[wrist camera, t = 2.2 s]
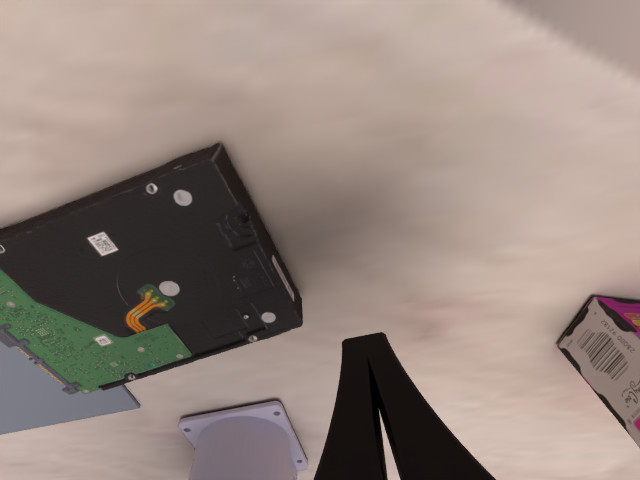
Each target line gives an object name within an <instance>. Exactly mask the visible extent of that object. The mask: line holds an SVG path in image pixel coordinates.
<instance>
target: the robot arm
mask: <svg viewBox="0 0 640 480" xmlns="http://www.w3.org/2000/svg"><path fill="white" fill-rule="evenodd" d="M379 410H380V414H381V417H382V420H383V424H384V427H385V430H386V433H387V437H388V440H389V443H390V446H391V450H392V453H393V456H394V460H395V463H396V466H397V469H398V473H399V476H400V479H401V480H496V479H495V478H494V477H493V476H492V475H491V474H490V473H489V472H488V471H487V470H486V469H485V468H484V467H483V466H482V465H481V464H480V463H479V462H478V461H477V460H476V459H475V458H474V457H473V456H472V455H471V453H470V452H469V451H468V450H467V449H466V448H465V447H464V446H463V445H462V444H461V443H460V441H459V440H458V439H457V438H456V437H455V436H454V435H453V433H452V432H451V431H450V430H449V429H448V428H447V426H446V425H445V424H444V423H443V422H442V420H441V419H440V418H439V417H438V415H437V414H436V413H435V412H434V410H433V409H432V408H431V406H430V405H429V404H428V403H427V401H426V400H425V399H424V397H423V396H422V395H421V393H420V392H419V390H418V389H417V388H416V386H415V385H414V383H413V382H412V380H411V379H410V377H409V376H408V375H407V373H406V371H405V370H404V368H403V367H402V365H401V363H400V362H399V360H398V359H397V357H396V355H395V353H394V351H393V350H392V348H391V346H390V344H389V342H388V339H387V337H386V334H384V333H382V332H380V333H375V334H370V335H364V336H359V337H354V338H349V339H345V340H344V341H343V342H342V363H341V372H340V380H339V385H338V391H337V397H336V402H335V407H334V411H333V415H332V419H331V424H330V428H329V432H328V435H327V439H326V443H325V446H324V449H323V453H322V456H321V459H320V462H319V465H318V468H317V471H316V474H315V477H314V480H388V479H387V471H386V463H385V455H384V447H383V439H382V431H381V423H380V415H379ZM178 427H179V428H180V430H181V431H182V432H183V434H184V435H185V436H186V438H187V439H188V440H189V442H190V443H191V444H192V446H193V447H194V448H195V455H194V459H193V463H192V467H191V471H190V475H189V480H297V471H300V470H305V469H307V468H308V461H307V459H306V457H305V454H304V452H303V450H302V448H301V446H300V443H299V441H298V439H297V437H296V435H295V432H294V430H293V428H292V426H291V424H290V421H289V419H288V417H287V415H286V413H285V410H284V408H283V406H282V404H281V403H280V402H278V401H271V402H266V403H261V404H255V405H250V406H245V407H239V408H234V409H229V410H224V411H218V412H213V413H208V414H202V415H197V416H192V417H186V418H182V419H180V420H179V423H178Z"/></svg>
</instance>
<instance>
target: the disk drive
mask: <svg viewBox="0 0 640 480" xmlns="http://www.w3.org/2000/svg"><path fill="white" fill-rule="evenodd" d="M302 319H303V316H302V298H301V296H300V294H299V293H298V290H297V288H296V287H295V286H294V283H293V282H292V280H291V277H290V275H289V273H288V271H287V269H286V267H285V265H284V263H283V262H282V260H281V258H280V256H279V254H278V251H277V250H276V248H275V246H274V244H273V242H272V239H271V238H270V236H269V234H268V232H267V230H266V229H265V226H264V224H263V223H262V221H261V219H260V217H259V215H258V213H257V211H256V209H255V207H254V205H253V203H252V201H251V199H250V197H249V195H248V193H247V191H246V190H245V188H244V186H243V184H242V182H241V180H240V179H239V177H238V175H237V174H236V172H235V169H234V168H233V166H232V164H231V161H230V159H229V157H228V155H227V153H226V151H225V149H224V147H223V146H222V145H221V144H216V145H214V146H213V147H211V148H207V149H203V150H201V151H198V152H196V153H191V154H189V155H186V156H183V157H181V158H178V159H175V160H173V161H171V162H169V163H167V164H166V165H163V166H161V167H159V168H156V169H154V170H151V171H149V172H146V173H143V174H141V175H138V176H136V177H133V178H131V179H129V180H126V181H124V182H121V183H118V184H116V185H114V186H111V187H109V188H106V189H104V190H101V191H99V192H97V193H94V194H91V195H89V196H87V197H85V198H82V199H80V200H78V201H74V202H72V203H69V204H66V205H64V206H61V207H59V208H56V209H54V210H51V211H49V212H46V213H44V214H42V215H39V216H36V217H34V218H31V219H28V220H26V221H24V222H22V223H19V224H16V225H14V226H11V227H7V228H4V229H1V230H0V341H1V342H2V343H3V344H5V345H6V346H7V347H8V348H11V347H13V346H17V349H18V350H19V351H21V352H22V353H23V354H25V355H26V356H27V357H28V359H29V360H32V359H34V360H35V362H34V364H35V365H38V366H39V367H40V368H42V369H43V370H44V371H45V372H47V373H48V374H49V375H50V376H52V377H53V378H54V379H55V380H57V381H58V382H59V383H63V384H64V385H65V386H66V387H65V388H63V389H62V391H63V392H66V393H67V394H69V395H71V394H74V393H77V392H78V391H81V392H82V393H83V394H89V393H91V392H94V391H97V390H99V389H101V390H102V391H105V390H108V389H111V388H114V387H118V386H121V385H123V384H125V383H128V382H130V381H133V380H136V379H141V378H144V377H147V376H149V375H154V374H157V373H159V372H162V371H165V370H169V369H172V368H174V367H177V366H181V365H184V364H188V363H191V362H194V361H196V360H199V359H203V358H206V357H210V356H212V355H216V354H219V353H221V352H225V351H228V350H230V349H234V348H237V347H240V346H244V345H246V344H250V343H253V342H256V341H260V340H264V339H268V338H270V337H273V336H276V335H279V334H281V333H284V332H287V331H290V330H291V329H294V328H297V327H301V326H302V324H303V320H302Z"/></svg>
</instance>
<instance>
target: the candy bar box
mask: <svg viewBox="0 0 640 480" xmlns="http://www.w3.org/2000/svg"><path fill="white" fill-rule="evenodd" d="M557 346H558V348H559V349H560V350H561V351H562V353H563V354H564V355H565V356H566V358H567V359H568V360H569V361H570V362H571V364H572V365H573V366H574V367H575V368H576V370H577V371H578V372H579V373H580V375H581V376H582V377H583V378H584V379H585V381H586V382H587V383H588V384H589V385H590V387H591V388H592V389H593V391H594V392H595V393H596V394H597V395H598V397H599V398H600V399H601V401H602V402H603V403H604V404H605V405H606V407H607V408H608V409H609V410H610V412H611V413H612V414H613V415H614V416H615V417H616V419H617V420H618V421H619V423H620V424H621V425H622V426H623V427H624V429H625V430H626V431H627V432H628V434H629V435H630V436H631V438H632V439H633V440H634V441H635V443H636V444H637V445H638V446H639V448H640V302H639V301H631V300H621V299H612V298H603V297H593V298H592V299H591V300H590V301H589V302H588V304H587V305H586V306H585V308H584V309H583V310H582V312H581V313H580V314H579V316H578V317H577V318H576V320H575V321H574V322H573V323H572V324H571V326H570V327H569V329H568V330H567V331H566V332H565V333H564V335H563V336H562V338H561V340H560V341H559V343H558V345H557Z"/></svg>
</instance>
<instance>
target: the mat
mask: <svg viewBox="0 0 640 480" xmlns="http://www.w3.org/2000/svg"><path fill="white" fill-rule="evenodd" d="M34 362H35V360H34V359H32V360H29V359H28V357H27V356H26V355H25V354H23V353H22V352H21V351H19V350H18V349H17V346H13V347H11V348H8V347H7V346H6V345H5V344H3V343H2V342H1V341H0V435H1V434H7V433H12V432H17V431H22V430H27V429H33V428H38V427H43V426H48V425H54V424H59V423H64V422H69V421H74V420H80V419H85V418H90V417H95V416H100V415H106V414H111V413H116V412H121V411H127V410H132V409H137V408H140V404H139V403H138V402H137V401H136V399H135V398H134V397H133V396H132V394H131V393H130V392H129V391H128V389H127V388H126V387H125V386H124V385H121V386H118V387H114V388H111V389H108V390H105V391H102V390H101V389H99V390H97V391H94V392H91V393H89V394H83V393H82V392H81V391H78V392H77V393H74V394H71V395H69V394H67V393H66V392H63V391H62V389H63V388H65V387H66V386H65V385H64V384H63V383H59V382H58V381H57V380H55V379H54V378H53V377H52V376H50V375H49V374H48V373H47V372H45V371H44V370H43V369H42V368H40V367H39V366H38V365H35V364H34Z"/></svg>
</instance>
